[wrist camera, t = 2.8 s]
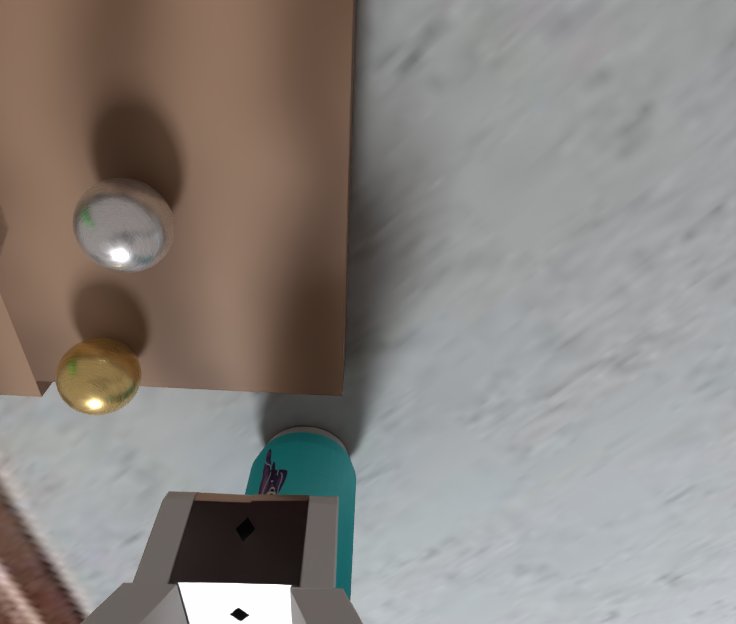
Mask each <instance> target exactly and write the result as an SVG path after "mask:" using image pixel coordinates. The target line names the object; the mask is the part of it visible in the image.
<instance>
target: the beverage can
mask: <svg viewBox="0 0 736 624" xmlns="http://www.w3.org/2000/svg"><path fill="white" fill-rule="evenodd" d="M355 492H356V475H355V471H354V468H353V465H352V463H351V460H350V458H349V455H348V453H347V451H346V448H345V446H344V445H343V443H342V442H341V441H340V440H339V439H338V438H336V437H335V436H334V435H333V434H331V433H329V432H327V431H325V430H322V429H319V428H315V427H306V426H302V427H293V428H289V429H286V430H284V431H282V432H280V433H278V434H277V435H275V436H274V437H273V438H272V439H271V440H270V441H269V442H268V443H267V445H266V446H265V447H264V449H263V450H262V451H261V453H260V454H259V455H258V457H257V458H256V460H255V461H254V463H253V465H252V468H251V472H250V476H249V480H248V484H247V488H246V493H245V495H254V494H267V495H310V496H338V500H339V506H338V536H337V565H336V586H335V588H343V589H344V591H345V593H346V595H347V596H348V598H349V600H350V596H351V575H352V554H353V533H354V512H355Z"/></svg>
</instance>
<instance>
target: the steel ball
mask: <svg viewBox="0 0 736 624" xmlns="http://www.w3.org/2000/svg"><path fill="white" fill-rule="evenodd" d="M72 223H73V232H74V236H75V239H76V241H77V243H78V245H79V247H80V248H81V250H82V251H83V252H84V254H85V255H86V256H87V257H88V258H89V259H91V260H92V261H93V262H94V263H96V264H97V265H99V266H101V267H103V268H105V269H108V270H111V271H115V272H122V273H133V272H139V271H143V270H145V269H148V268H150V267H152V266H154V265H155V264H157V263H158V262H159V261H161V260H162V259H163V257H164V256H165V255H166V254H167V253H168V251H169V249H170V248H171V245H172V243H173V240H174V235H175V222H174V217H173V214H172V211H171V209H170V207H169V205H168V203H167V202H166V200H165V199H164V198H163V197H162V195H161V194H159V193H158V192H157V191H156V190H155V189H153V188H152V187H150V186H149V185H147V184H145V183H143V182H140V181H137V180H133V179H128V178H113V179H108V180H104V181H101V182H99V183H97V184H95V185H93V186H92V187H91V188H89V189H88V190H87V191H86V192H85V193H84V194H83V195H82V196H81V197H80V199H79V200H78V202H77V204H76V207H75V209H74V213H73V220H72Z"/></svg>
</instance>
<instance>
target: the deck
mask: <svg viewBox="0 0 736 624" xmlns="http://www.w3.org/2000/svg"><path fill="white" fill-rule="evenodd" d="M355 22H356V0H0V395H18V396H38V397H42V396H43V394H44V393H45V392H46V390H47V389H48V387H49V386H50V385H51V383H52V382H56V371H57V367H58V364H59V362H60V360H61V359H62V357H63V356H64V354H65V353H66V352H67V351H68V350H69V349H70V348H72V347H73V346H74V345H76V344H78V343H79V342H81V341H84V340H87V339H91V338H98V337H104V338H111V339H115V340H118V341H120V342H122V343H124V344H125V345H127V346H128V347H129V348H130V349H131V350H132V351H133V352H134V353H135V355H136V356H137V358H138V360H139V362H140V365H141V371H142V377H141V383H140V386H148V387H168V388H188V389H208V390H228V391H248V392H268V393H288V394H308V395H328V396H342V390H343V379H344V367H345V345H346V313H347V281H348V248H349V216H350V184H351V151H352V119H353V87H354V54H355ZM113 178H128V179H133V180H137V181H140V182H143V183H145V184H147V185H149V186H150V187H152V188H153V189H155V190H156V191H157V192H158V193H159V194H161V195H162V197H163V198H164V199H165V200H166V202H167V203H168V205H169V207H170V209H171V211H172V214H173V217H174V222H175V235H174V240H173V243H172V245H171V248H170V249H169V251H168V253H167V254H166V255H165V256H164V257H163V259H162V260H161V261H159V262H158V263H157V264H155V265H154V266H152V267H150V268H148V269H145V270H143V271H139V272H133V273H122V272H115V271H111V270H108V269H105V268H103V267H101V266H99V265H97V264H96V263H94V262H93V261H92V260H91V259H89V258H88V257H87V256H86V255H85V254H84V252H83V251H82V250H81V248H80V247H79V245H78V243H77V241H76V239H75V236H74V232H73V223H72V220H73V213H74V209H75V207H76V204H77V202H78V200H79V199H80V197H81V196H82V195H83V194H84V193H85V192H86V191H87V190H88V189H89V188H91V187H92V186H93V185H95V184H97V183H99V182H101V181H104V180H108V179H113Z"/></svg>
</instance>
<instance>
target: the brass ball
mask: <svg viewBox="0 0 736 624" xmlns="http://www.w3.org/2000/svg"><path fill="white" fill-rule="evenodd" d="M141 377H142V371H141V365H140V362H139V360H138V358H137V356H136V355H135V353H134V352H133V351H132V350H131V349H130V348H129V347H128V346H127V345H125V344H124V343H122V342H120V341H118V340H115V339H111V338H104V337H98V338H91V339H87V340H84V341H81V342H79V343H78V344H76V345H74V346H73V347H72V348H70V349H69V350H68V351H67V352H66V353H65V354H64V356H63V357H62V359H61V360H60V362H59V364H58V367H57V371H56V386H57V389H58V392H59V394H60V396H61V397H62V399H63V400H64V401H65V402H66V403H67V404H68V405H69V406H70V407H71V408H73V409H75V410H76V411H79V412H81V413H84V414H89V415H104V414H109V413H112V412H115V411H117V410H119V409H121V408H122V407H124V406H125V405H126V404H128V403H129V402H130V401H131V400H132V399H133V397H134V396H135V394H136V393H137V391H138V389H139V386H140V383H141Z"/></svg>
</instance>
